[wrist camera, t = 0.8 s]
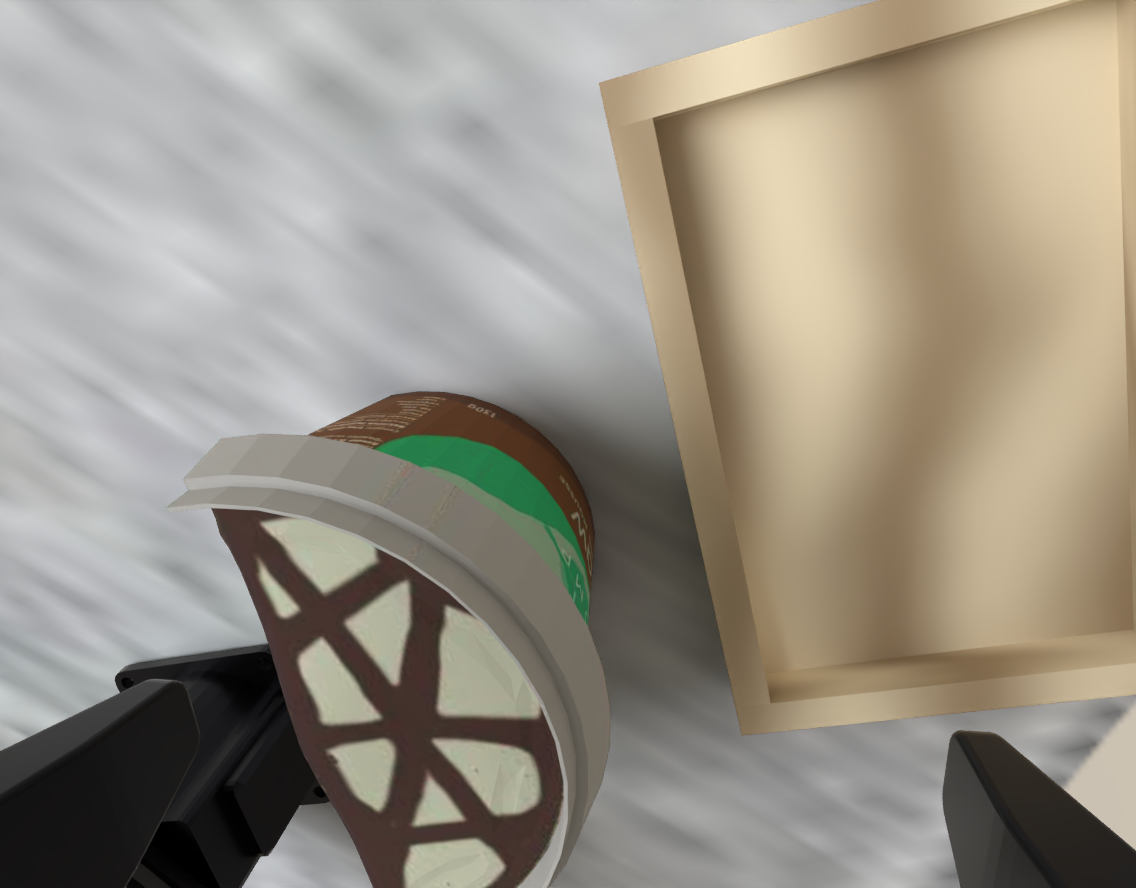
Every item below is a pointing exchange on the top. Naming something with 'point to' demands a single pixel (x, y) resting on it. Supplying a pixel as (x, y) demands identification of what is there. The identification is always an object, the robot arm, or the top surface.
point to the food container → (427, 630)
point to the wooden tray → (901, 349)
